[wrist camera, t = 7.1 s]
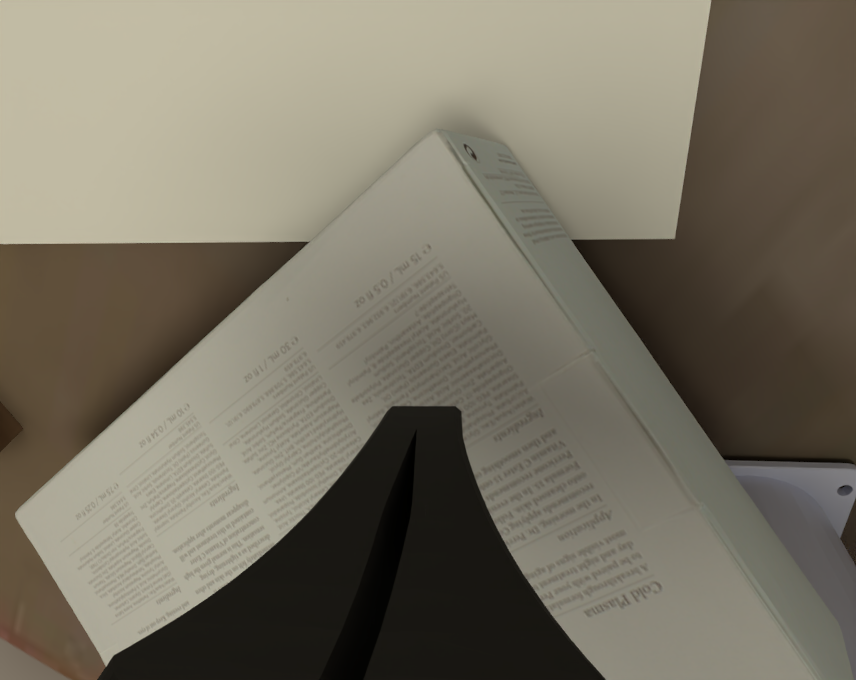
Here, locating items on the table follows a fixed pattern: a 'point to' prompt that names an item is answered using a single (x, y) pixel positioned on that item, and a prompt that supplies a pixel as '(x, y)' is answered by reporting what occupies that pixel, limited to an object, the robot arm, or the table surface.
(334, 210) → the white tray
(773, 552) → the grey printed book
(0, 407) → the walnut block
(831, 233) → the table surface
